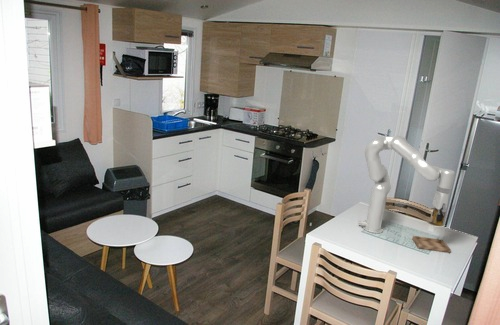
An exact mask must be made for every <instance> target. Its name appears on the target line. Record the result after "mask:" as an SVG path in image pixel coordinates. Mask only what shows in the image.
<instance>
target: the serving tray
mask: <svg viewBox="0 0 500 325" xmlns="http://www.w3.org/2000/svg"><path fill="white" fill-rule="evenodd" d="M411 240H412V241H413V243H414V244H415V246H416V247H417V248H418V249H419V250H426V251H433V252H439V253H447V254H450V253H451V248H450V247H449V245H447V243H446V242H445V241H444V239H442V238H441V239H439V238H433V237H427V236H426V237H425V236H419V235H412V238H411Z"/></svg>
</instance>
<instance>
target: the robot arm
mask: <svg viewBox="0 0 500 325" xmlns="http://www.w3.org/2000/svg"><path fill="white" fill-rule="evenodd" d="M385 150H393V151H394V152H396V153H397V154H398V155H399V156H400V157H402V158H403V159H404V160H405V161H407V163H408V164H409V165H410V166H411V167H412V168H413V169H414V170H415V171H416V172H417V173H418V174H419V175H420V176H422V177H423V178H424V179H426V180H427V181H429V182H435V181H437V180H438V181H437V187H436V190H435V193H434V197H433V200H432V206H433V209H432V210H433V211H432V215H431V217H433V214H434V210H435V208H436V209H437V210H439V211H438V214H437V218H436V220H437V221H442V219H443V215H444V213H445V212H446V211H447V208H448V204H449V197H450V194H451V191H452V187H453V184H454V181H455V175H456V172H455V171H454V170H453V169H449V168H442V167H440V166H437V165H430V164H429V163H428V162H427V161H426V160H425V159H424V158H423V156H422V155H421V153H420V151H419V150H417V149H416V148H415V147H413V145H411V144H409V143H408V140H407V138H406V137H405V136H401V135H396V136H395V135H394V136H393V135H389V136H379V137H376V138H375V139H372V140H371V141H370V142H369V143H367V145H366V147H365V150H364V156H365V162H366V166H367V172H368V174H369V175H368V176H369V178H370V179H371V180H372V181H373V182H374V185H373V186H372V188H371V191H370V199H369V205H368V212H367V215H366V219H365V220H363V221H361V220H360V221H359V220H358V221H357V223H358V225H360V226H362V229H363V230H365V231H367V232H369V233H372V234H381V233H383V230H384V229H383V227H382V224H383V219H384V214H385V209H386V204H387V197H388V194H389V192H391V187H392V186H391V185H392V184H391V181H390V177H389V172H388V170H387V167H386V166H385V165H384V164H382V161H381V157H380V153H381V152H382V151H385ZM440 210H441V212H440ZM445 214H446V213H445Z"/></svg>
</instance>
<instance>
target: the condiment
mask: <svg viewBox="0 0 500 325" xmlns="http://www.w3.org/2000/svg"><path fill="white" fill-rule="evenodd" d="M433 210H434V209H433ZM438 211H439V210H437V209H436V208H435V210H434V214H433V213H432V214H433V216H432V219H431V221H427V222H426V223H427V224H429V225H431V226H432V227H435V228H441V227H445V226H446V225H445V224H444V221H445V216H446V212H445V213H444V215H443V219H442V221H437V220H436V218H437V214H438ZM440 212H441V210H440Z"/></svg>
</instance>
